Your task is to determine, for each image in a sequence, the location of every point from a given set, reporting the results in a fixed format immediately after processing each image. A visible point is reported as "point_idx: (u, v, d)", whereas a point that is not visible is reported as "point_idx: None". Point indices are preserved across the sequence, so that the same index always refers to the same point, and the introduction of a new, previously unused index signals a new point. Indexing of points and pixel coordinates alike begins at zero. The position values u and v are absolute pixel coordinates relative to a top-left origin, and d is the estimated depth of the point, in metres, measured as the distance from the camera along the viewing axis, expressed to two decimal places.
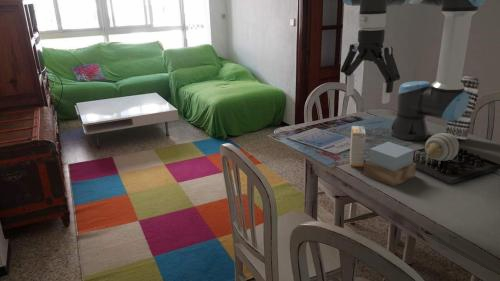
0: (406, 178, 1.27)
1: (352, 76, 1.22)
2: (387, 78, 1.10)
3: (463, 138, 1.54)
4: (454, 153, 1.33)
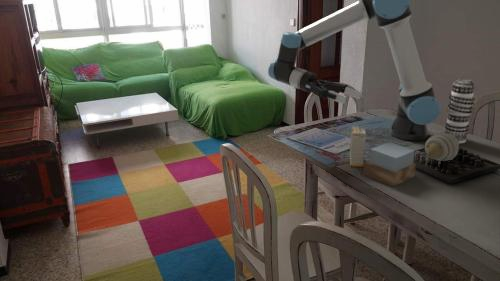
0: (406, 178, 1.27)
1: (345, 89, 1.44)
2: None
3: (462, 142, 1.55)
4: (454, 153, 1.33)
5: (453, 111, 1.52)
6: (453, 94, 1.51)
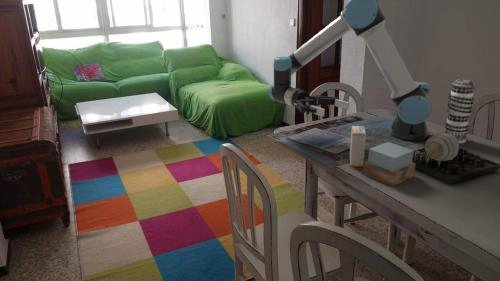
0: (405, 178, 1.27)
1: (335, 101, 1.50)
2: None
3: (462, 142, 1.55)
4: (454, 153, 1.33)
5: (453, 111, 1.52)
6: (453, 94, 1.51)
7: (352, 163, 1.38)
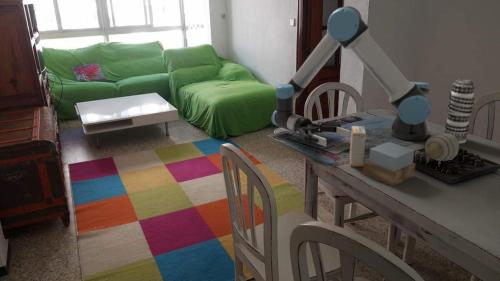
0: (405, 178, 1.27)
1: (337, 129, 1.54)
2: None
3: (462, 142, 1.55)
4: (454, 153, 1.33)
5: (453, 111, 1.52)
6: (453, 94, 1.51)
7: (352, 163, 1.38)
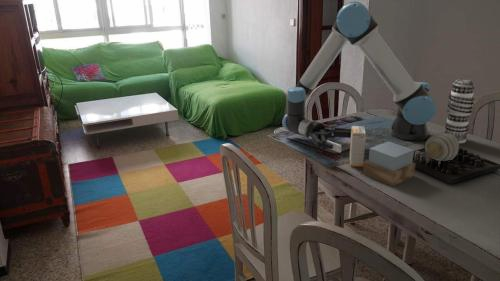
0: (405, 178, 1.27)
1: None
2: None
3: (462, 142, 1.55)
4: (454, 153, 1.33)
5: (453, 111, 1.52)
6: (453, 94, 1.51)
7: (352, 163, 1.38)
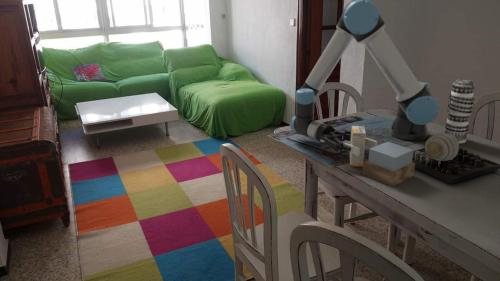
0: (405, 178, 1.27)
1: None
2: None
3: (462, 142, 1.55)
4: (454, 153, 1.33)
5: (453, 111, 1.52)
6: (453, 94, 1.51)
7: (352, 163, 1.38)
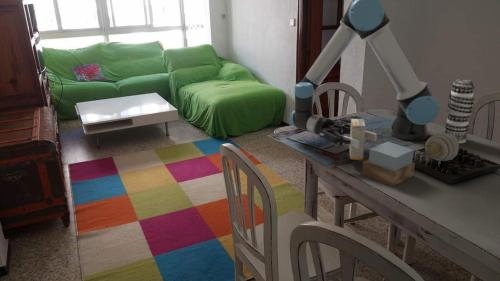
0: (405, 178, 1.27)
1: None
2: None
3: (462, 142, 1.55)
4: (454, 153, 1.33)
5: (453, 111, 1.52)
6: (453, 94, 1.51)
7: (352, 156, 1.37)
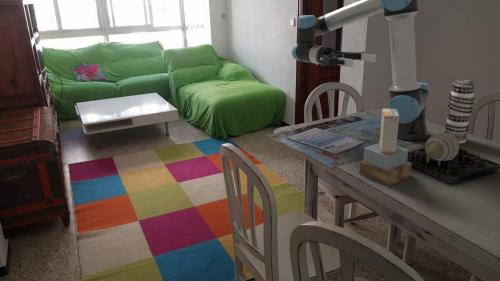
0: (401, 177, 1.27)
1: (362, 56, 1.50)
2: None
3: (462, 142, 1.55)
4: (454, 153, 1.33)
5: (453, 111, 1.52)
6: (453, 94, 1.51)
7: (383, 149, 1.24)
